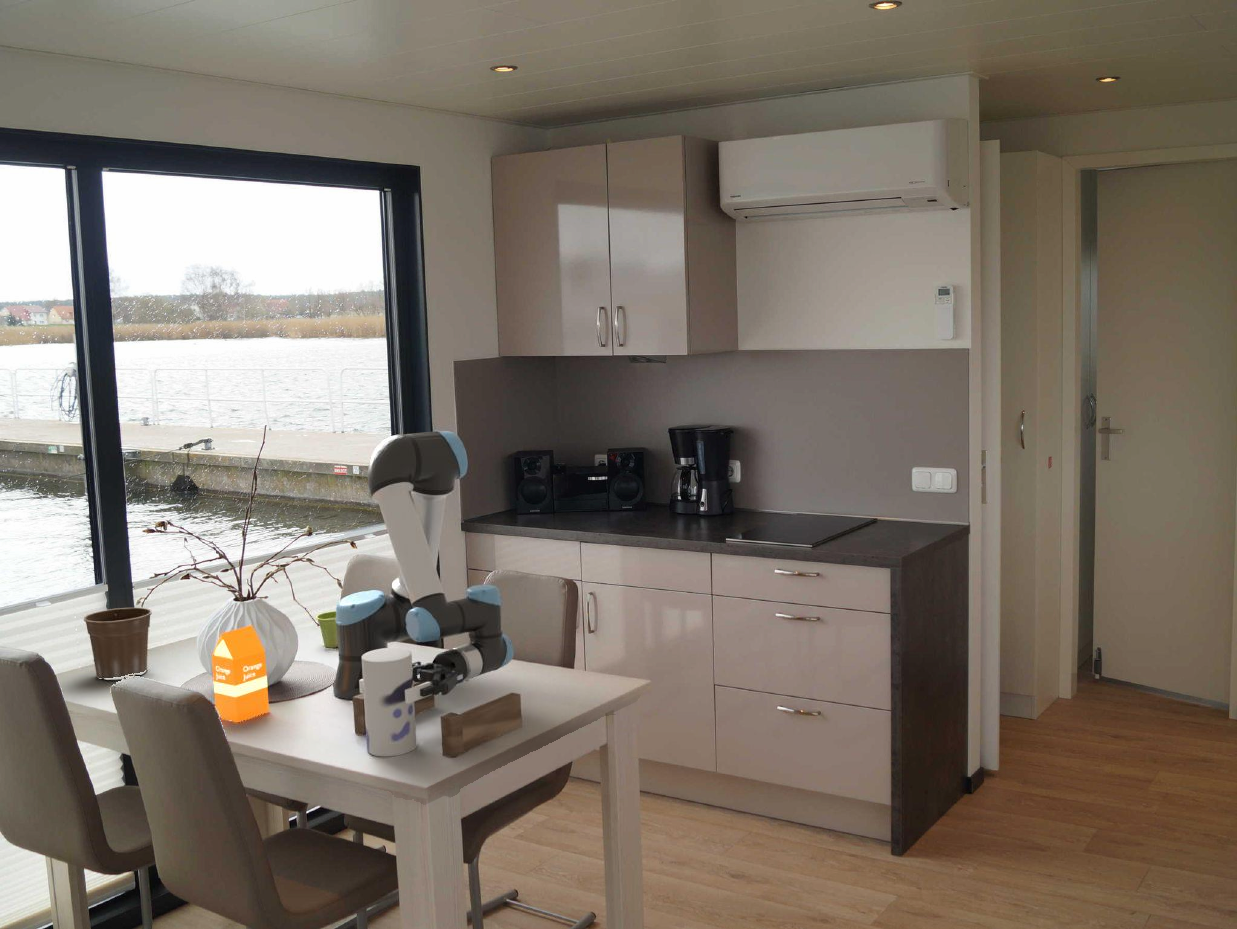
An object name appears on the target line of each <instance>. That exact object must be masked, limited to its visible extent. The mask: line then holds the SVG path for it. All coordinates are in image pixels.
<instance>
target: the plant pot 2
mask: <svg viewBox="0 0 1237 929" xmlns="http://www.w3.org/2000/svg"><path fill="white" fill-rule="evenodd" d="M315 619H316V620H317V622H318V624H319V628H320V632H321V637H322V641H323V646H325V647H326V648H328V649H329V648H333V649H335V648H337V647H338V638H337V624H336V610H334V611H333V610H332V611H327V612H322V613H319V614H317V615H316V616H315Z"/></svg>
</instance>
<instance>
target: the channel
mask: <svg viewBox="0 0 1237 929" xmlns="http://www.w3.org/2000/svg"><path fill="white" fill-rule="evenodd" d="M423 683H426V681H425V682H414V681H413V687H415V686H417V685H420V684H423ZM431 685H432V682H431ZM521 696H522V695H521V694H520V693H515V692H510V693H508V694H505V695H502V696H500V697H497V698H495V699H493V700H491V701H489V702H488V701H487V702H486V703H483V704H480V705H478V706H476V707H474V708H471V709H469V710H467V711H464V712H460V713H457V712H448V713H446V714H444V715H441V716H440V730H441V733H440V734H441V748H442V756H445V755H446V756H445V757H449V758H453V757H454V758H455V756H456V757H458V756H460V755H463V754H464V753H465V752H464V751H466V752H468V751H470V750H473V749H474V748H476V746H477V747H478V746H479V747H480V746H481V745H483V744H485V743H488V742H490V741H492V740H494V739H497V738H498V737H499V738H500V737H501V736H503V735H505V734H507V733H510V732H511V731H514V730H516V729H518V728H520V727H522V726H523V720H522V719H523V718H522V702H521V701H522V700H521V699H522V698H521ZM435 700H436V699H435V695H434V694H432V695H430V696H427V697H425V698H422V699H419V700H417V701H414V708H415V716H416V715H419V714H421V713H423V712H427V711H429V710H430V709H433V708H436V702H435ZM352 708H353V724H354V725H353V726H354V733H355V734H358V735H361V736H366V722H365V706H364V693H362V694H360V695H357V696H354V697H353V699H352ZM469 749H470V750H469ZM462 753H463V754H462ZM459 754H460V755H459Z"/></svg>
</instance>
